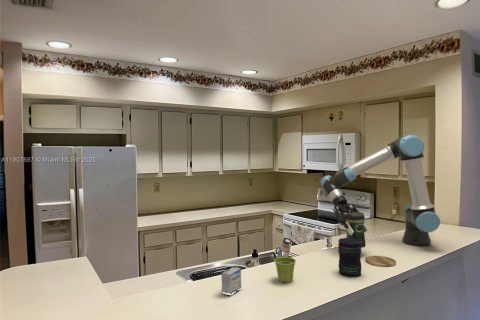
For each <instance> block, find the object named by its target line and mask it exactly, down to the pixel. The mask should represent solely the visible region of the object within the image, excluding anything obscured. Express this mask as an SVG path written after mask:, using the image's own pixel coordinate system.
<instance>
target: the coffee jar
mask: <svg viewBox="0 0 480 320" xmlns="http://www.w3.org/2000/svg"><path fill="white" fill-rule="evenodd" d="M364 217H365V214H364V212H360V211H359V212H351V213H345V219H346V222H348V223H349V225H350V227H351V228H352V230H353V231H354V232H353V234H352V235H350V234H349V232H348V231H347V230H346V237H345V238H353V239H358V240H360V241H361V249H362V248H365V247H366V236H365V232H364V223H365V221H366V220H365V218H364Z"/></svg>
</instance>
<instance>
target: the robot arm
mask: <svg viewBox="0 0 480 320" xmlns="http://www.w3.org/2000/svg"><path fill="white" fill-rule="evenodd" d="M424 142H425V141H424V140H423V139H422V138H421V137H419V136H417V135H415V134H407V135H404V136H399V137H398V138H396V139H395V140H393V141H391V142H390V143H388V144H386V145H385V146H384V148H382V149H380V150H377V151H376V152H374V153H372V154H370V155H368V156H366V157H363V158H362V159H360V160H358V161H356V162H354V163H352V164H349V165H347V166H346V167H344V168H342V169H341V168H340V169H339V170H337V171H336V172H335V175H333V176H331V175H329V174H328V175H325V176H322V178H321V179H320V185H321V187H322V189H323V190H324V191H325V194H326V195H327V196H328V198H329V200H330V201H331V202H332V205H333V206H334V207H333V208H332V211H333V212H334V215H335V217H336V220H337V223H338V224H340V225H341V226H343V227H344V229H345V230H346V232H347V231H348V232H349V234H350V235H352V234H353V232H354V231H353V230H352V228H351V227H350V225H349V223H348V222H346V219H345V217H346V216H345V215H346V213H351V212H360V211H359V210H358V209H357V207H356V206H355V205H354V204H353V203H352V204H349V203H348V200H347V198H346V197H345V196H344V193H343V192H342V191H341V189H340V188H341V187H344V186H345V185H347V184H349V183H351V182H353V181H354V180H355V179H357V176H359V175H361V174H363V173H365V172H368V171H369V170H371V169H373V168H375V167H377V166H379V165H382V164H383V163H385V162H387V161H390V160H395V159H398V158H399V159H400V162H401V163H403V164H404V168H405V174H406V178H407V184H408V187H409V193H410V197H411V202H412V204H406V205H405V208H404V212H405V214H404V215H405V224H404V225H405V229H404V232H403V236H402V243H403V244H405V245H409V246H414V247H415V246H417V247H428V246H429V247H430V246H431V245H432V239H431V237H430V235H429V233H432V232H435V231H436V230H437V229H438V228H439V227H440V224H441V219H440V217H439V216H438V214H437V213H436V209H435V205H434V204H432V203H431V200H430V195H429V191H428V190H429V189H428V186H427V180H426V176H425V171H424V166H423V162H422V161H423V159H424V150H425V143H424ZM364 219H365V216H364ZM366 224H367V223H366V222H364V233H367V232H368V231H369V228H368V227H367V225H366Z"/></svg>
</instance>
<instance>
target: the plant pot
mask: <svg viewBox="0 0 480 320" xmlns="http://www.w3.org/2000/svg"><path fill="white" fill-rule="evenodd" d="M273 262H274V264H275V266H276V272H277V278H278V279H277V280H278V281H279V282H280V281H281V282H280V283H291V282H293V279H294V271H295V265H296V262H297V260H296V258H294V257H287V256H280V257H276V258H275V259H274V260H273Z"/></svg>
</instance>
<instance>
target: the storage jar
mask: <svg viewBox="0 0 480 320" xmlns="http://www.w3.org/2000/svg"><path fill="white" fill-rule="evenodd" d="M337 248H338V257H339V259H338V269H339V270H338V274H339V275H340V276H343V277H346V278H359V277H361V276H362V262H361V261H362V260H361V258H362V257H361V254H362V248H361V241H360V240H358V239H353V238H346V237H342V238H339V239H338V247H337Z"/></svg>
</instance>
